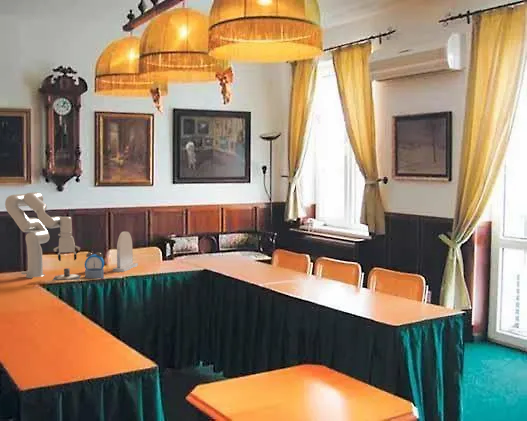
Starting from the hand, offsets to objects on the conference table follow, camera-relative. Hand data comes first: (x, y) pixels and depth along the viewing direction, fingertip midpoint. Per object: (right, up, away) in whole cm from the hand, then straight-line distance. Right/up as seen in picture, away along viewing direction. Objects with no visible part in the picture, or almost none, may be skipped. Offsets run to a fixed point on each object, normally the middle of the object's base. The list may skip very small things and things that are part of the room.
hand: (67, 260), depth 435 cm
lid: (-1, -12, +1) cm, 12 cm away
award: (+29, -10, +45) cm, 54 cm away
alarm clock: (+12, -11, +24) cm, 29 cm away
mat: (-1, -13, +1) cm, 13 cm away
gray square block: (+17, -12, +5) cm, 22 cm away
